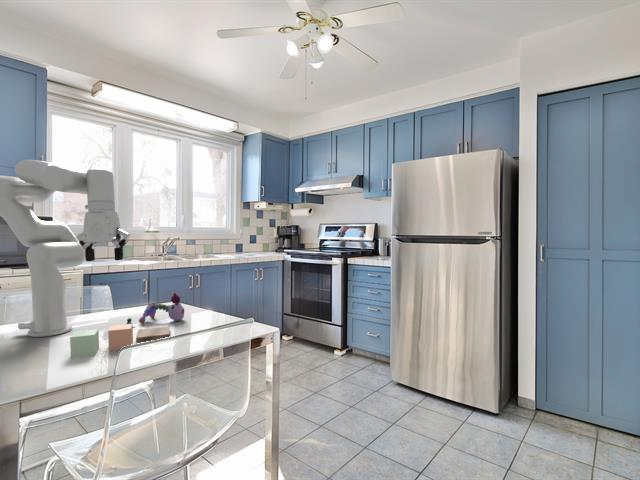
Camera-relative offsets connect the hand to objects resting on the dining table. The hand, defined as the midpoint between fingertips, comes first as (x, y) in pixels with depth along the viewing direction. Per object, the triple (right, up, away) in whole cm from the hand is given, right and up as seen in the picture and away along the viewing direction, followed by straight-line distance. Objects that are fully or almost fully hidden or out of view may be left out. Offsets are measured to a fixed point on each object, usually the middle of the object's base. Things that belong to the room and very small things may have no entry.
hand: (104, 260), depth 119 cm
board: (+14, -26, +5) cm, 30 cm away
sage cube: (+1, -27, -11) cm, 29 cm away
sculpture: (+1, -26, +16) cm, 30 cm away
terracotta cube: (+8, -26, -5) cm, 28 cm away
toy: (+9, -25, +25) cm, 36 cm away
